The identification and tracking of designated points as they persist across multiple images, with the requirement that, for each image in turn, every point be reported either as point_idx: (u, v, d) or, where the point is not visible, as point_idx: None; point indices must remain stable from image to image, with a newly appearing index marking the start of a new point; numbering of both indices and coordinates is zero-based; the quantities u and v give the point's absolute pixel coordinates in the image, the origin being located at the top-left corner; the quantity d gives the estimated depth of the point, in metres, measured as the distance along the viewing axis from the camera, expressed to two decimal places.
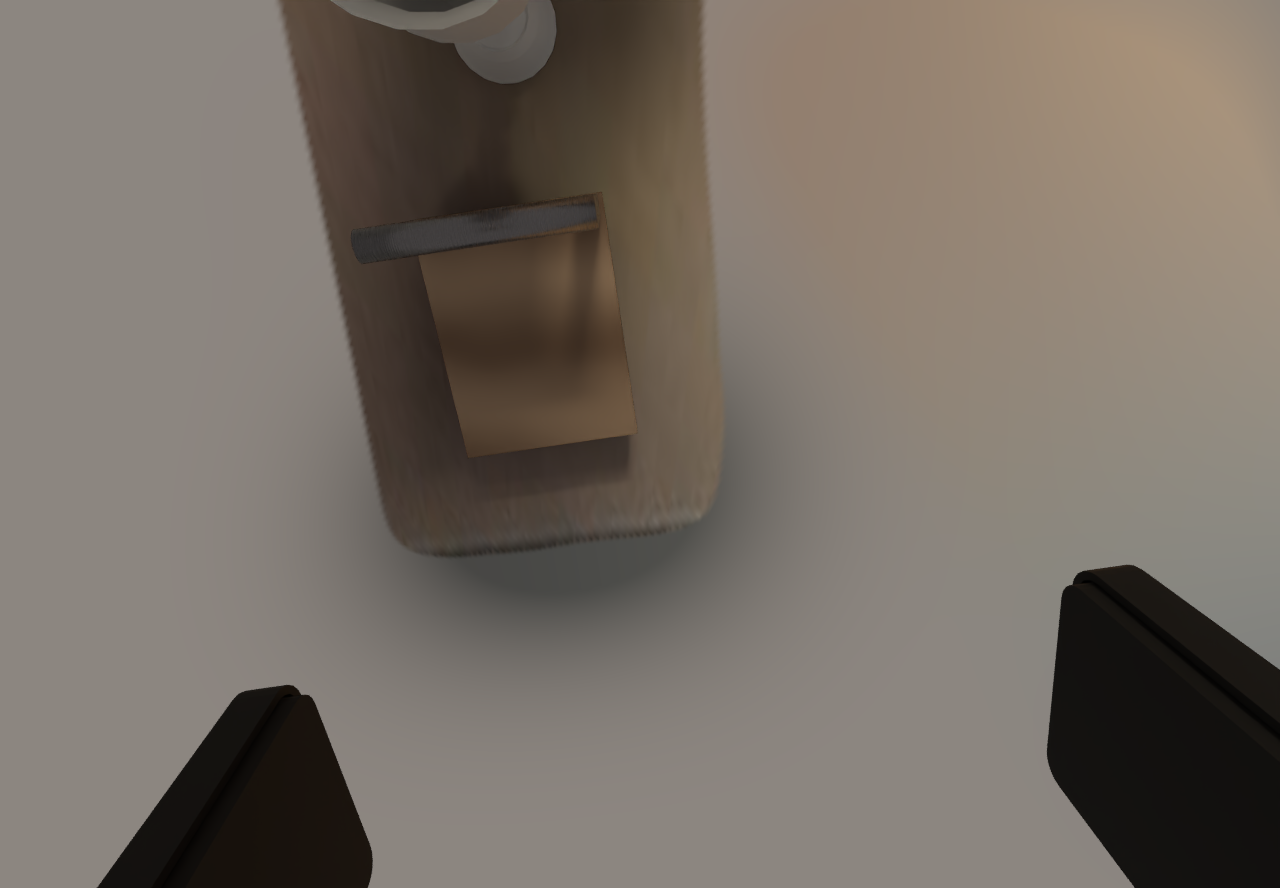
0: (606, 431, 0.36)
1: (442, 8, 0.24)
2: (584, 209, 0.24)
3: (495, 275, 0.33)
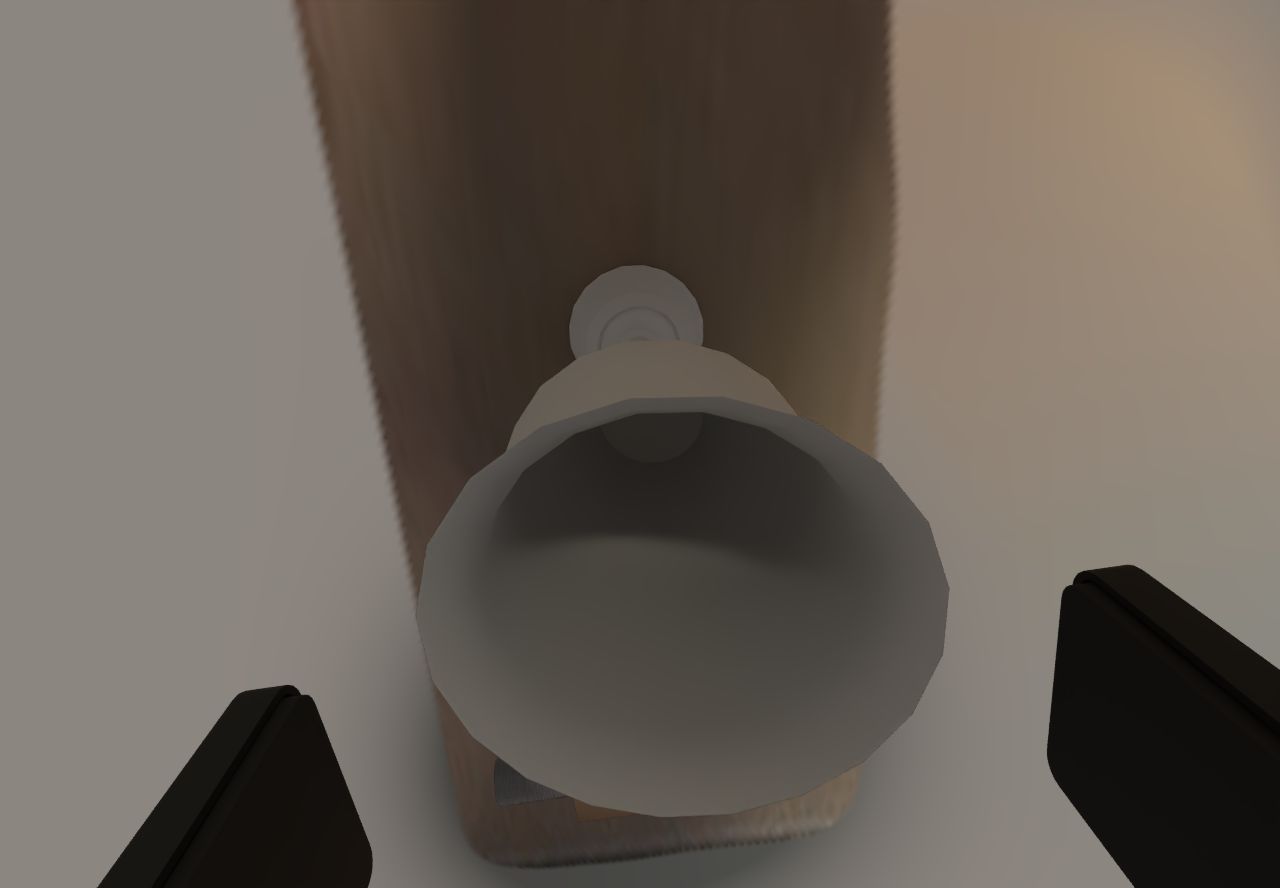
0: None
1: (621, 477, 0.17)
2: None
3: None
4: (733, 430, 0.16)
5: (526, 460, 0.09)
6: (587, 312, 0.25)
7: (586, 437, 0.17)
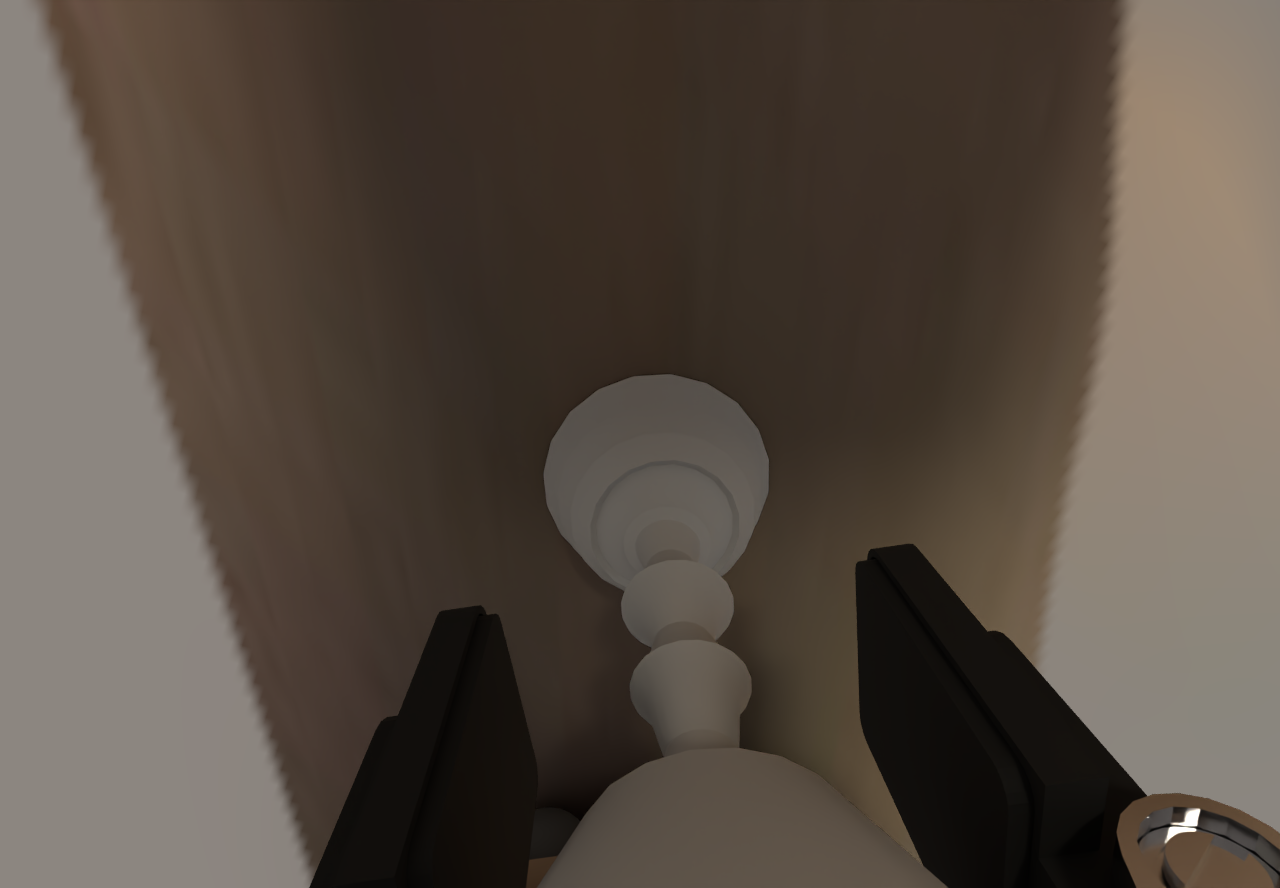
0: None
1: None
2: None
3: None
4: None
5: None
6: (573, 459, 0.14)
7: None
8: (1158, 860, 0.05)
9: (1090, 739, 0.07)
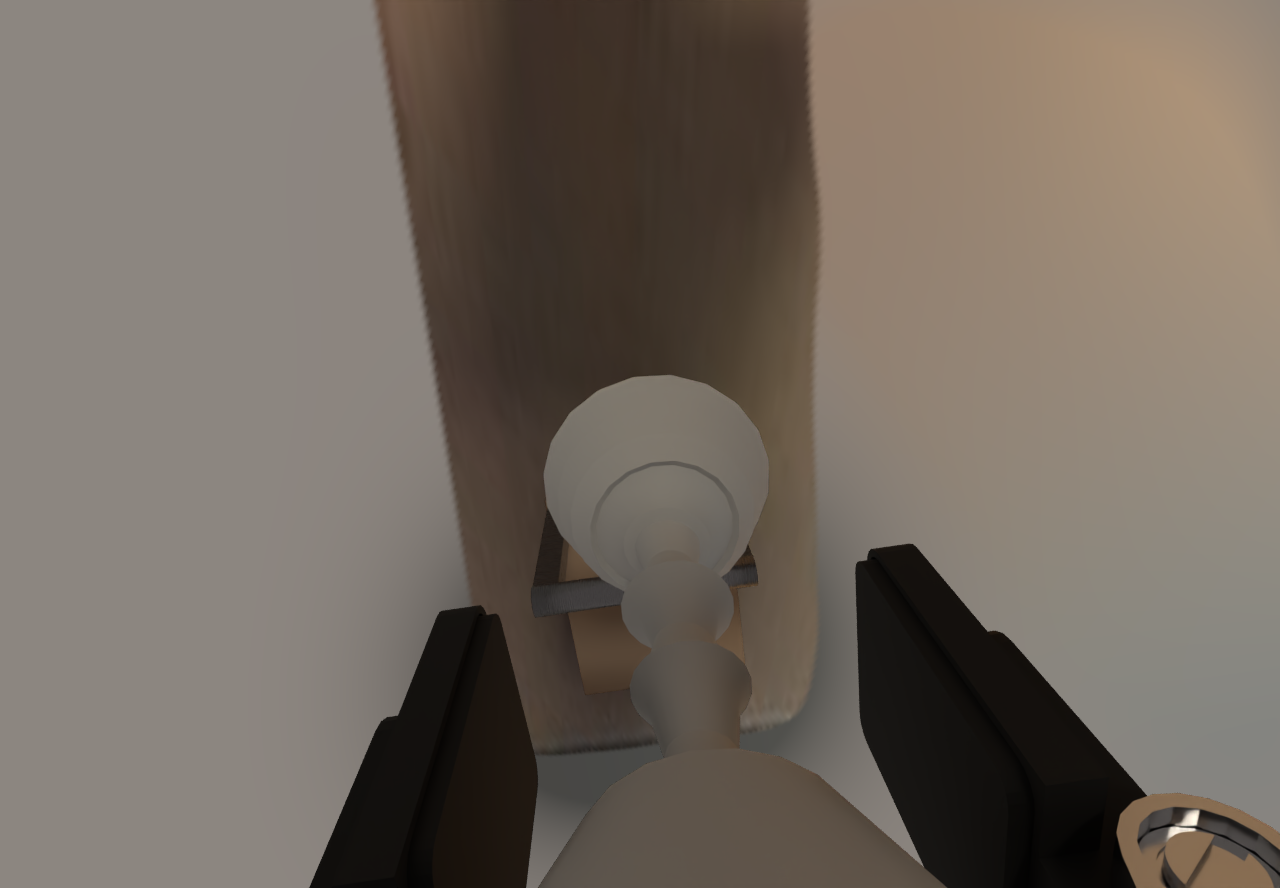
0: None
1: None
2: (747, 575, 0.26)
3: None
4: None
5: None
6: (573, 460, 0.14)
7: None
8: (1158, 859, 0.05)
9: (1089, 739, 0.07)
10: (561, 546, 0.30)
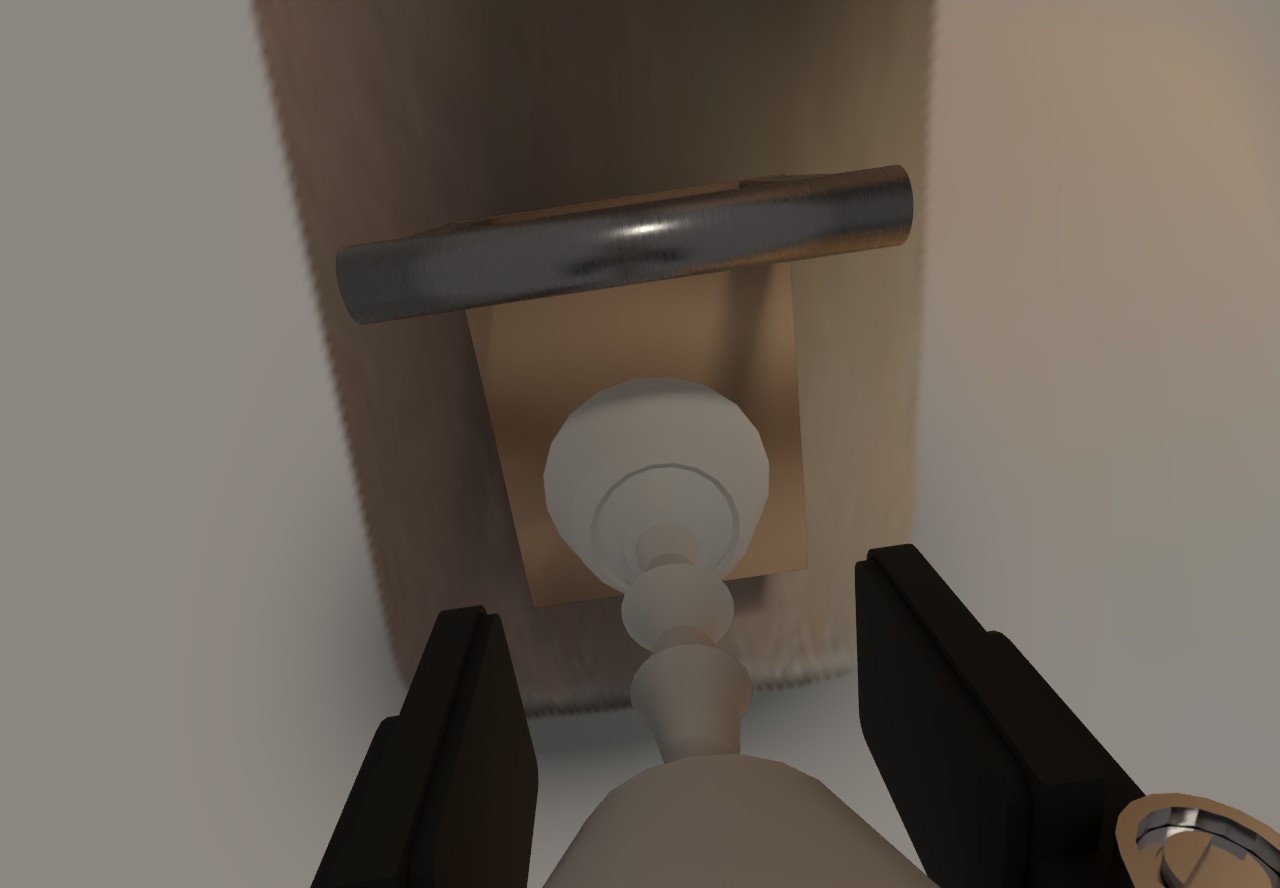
0: (758, 566, 0.22)
1: None
2: (886, 200, 0.10)
3: (591, 318, 0.19)
4: None
5: None
6: (573, 462, 0.14)
7: None
8: (1156, 859, 0.05)
9: (1088, 739, 0.07)
10: (449, 231, 0.14)
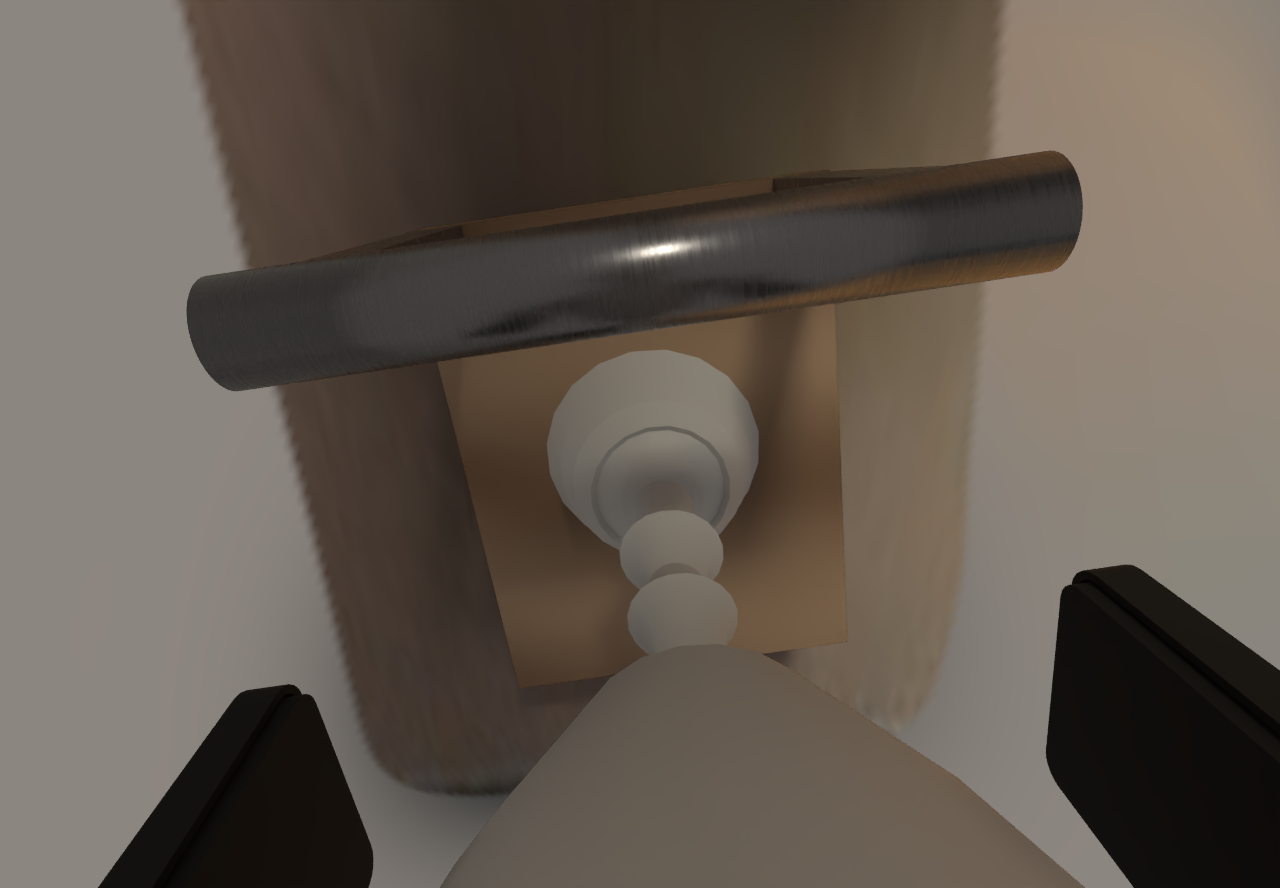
0: (788, 639, 0.19)
1: None
2: (1040, 206, 0.07)
3: (588, 348, 0.16)
4: None
5: None
6: (575, 429, 0.15)
7: None
8: None
9: None
10: (391, 245, 0.10)
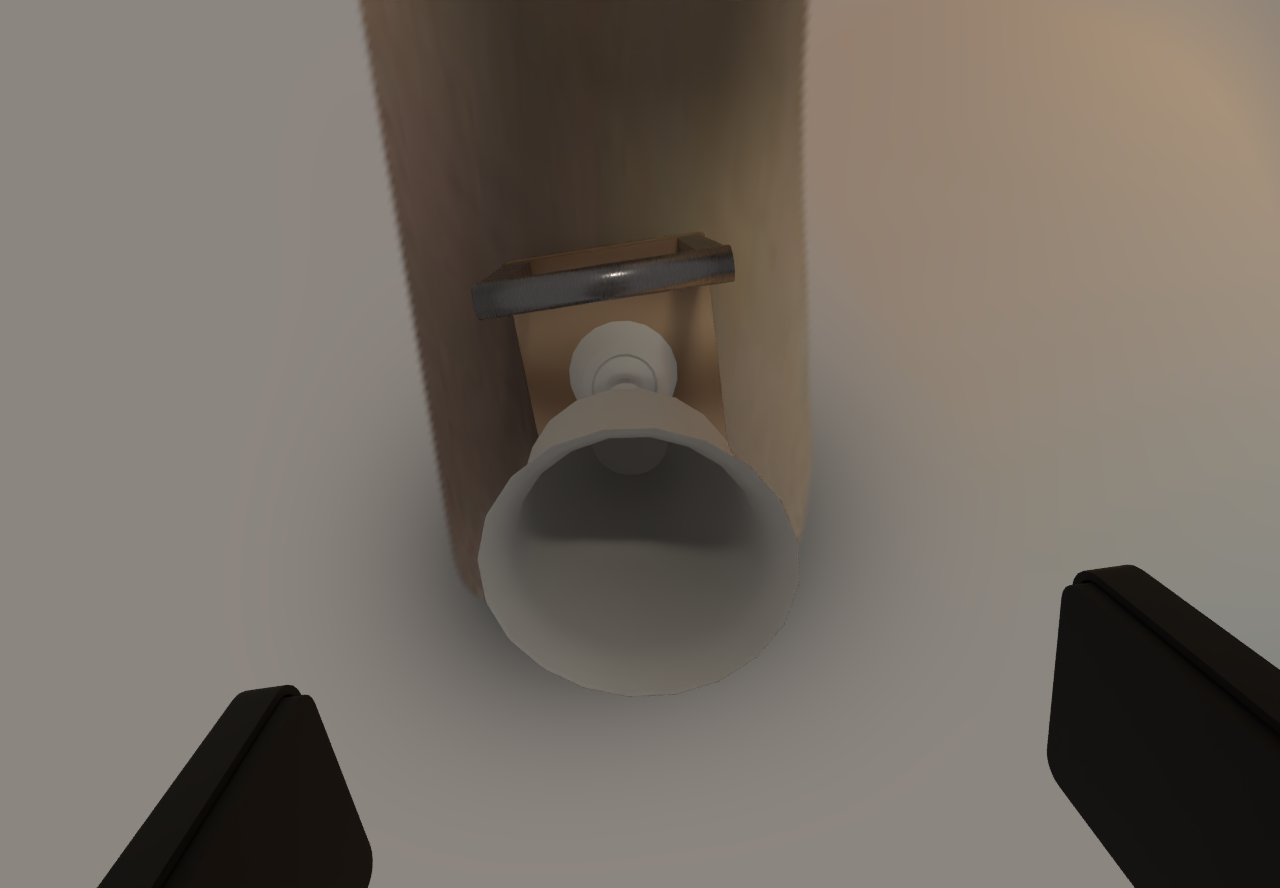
0: None
1: (607, 485, 0.23)
2: (721, 262, 0.23)
3: (589, 320, 0.31)
4: (688, 450, 0.23)
5: (543, 466, 0.15)
6: (583, 358, 0.31)
7: (581, 456, 0.23)
8: None
9: None
10: (514, 272, 0.26)
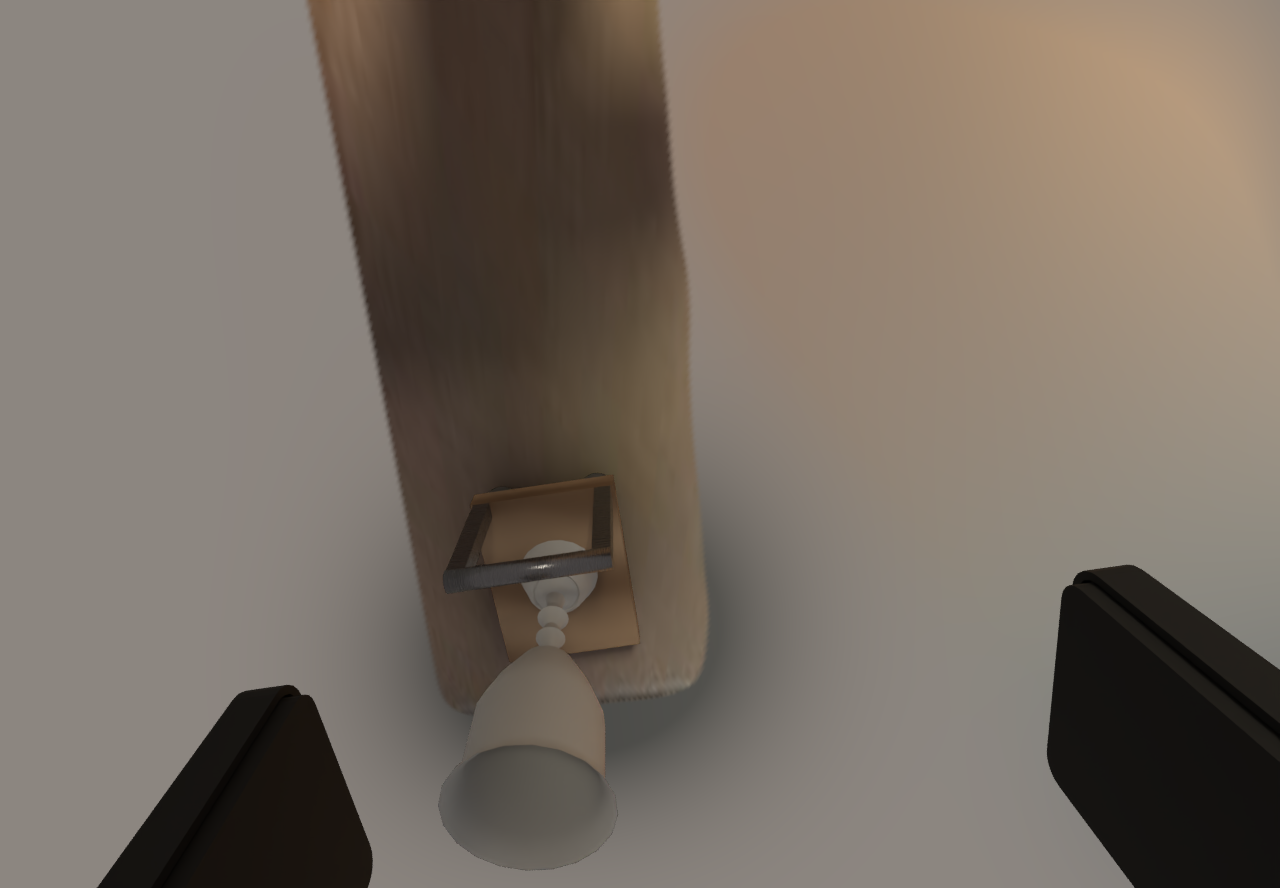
0: (616, 642, 0.47)
1: None
2: (604, 562, 0.35)
3: (533, 539, 0.44)
4: None
5: None
6: None
7: None
8: None
9: None
10: (474, 540, 0.38)
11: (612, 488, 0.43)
